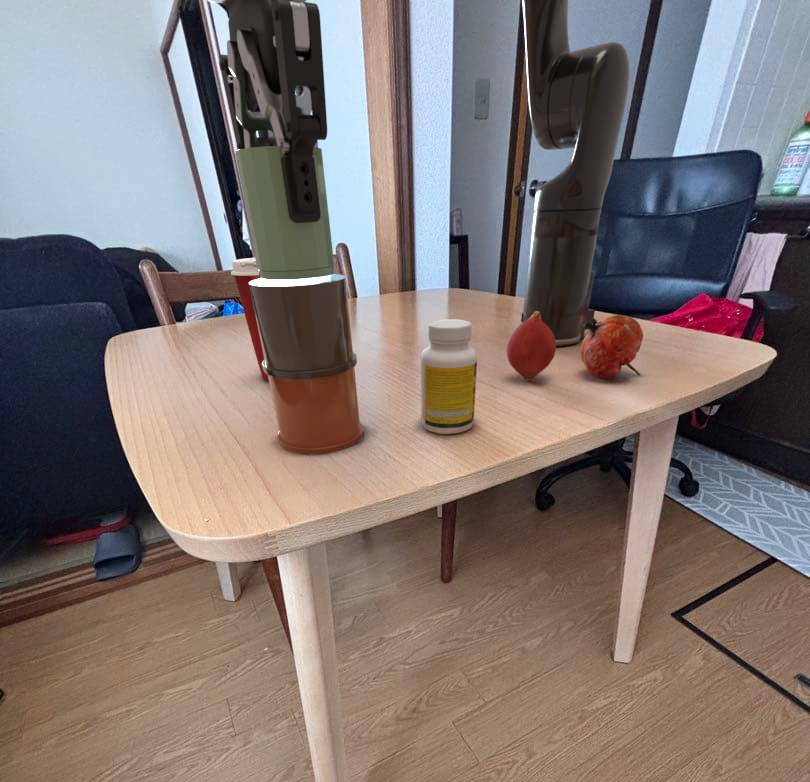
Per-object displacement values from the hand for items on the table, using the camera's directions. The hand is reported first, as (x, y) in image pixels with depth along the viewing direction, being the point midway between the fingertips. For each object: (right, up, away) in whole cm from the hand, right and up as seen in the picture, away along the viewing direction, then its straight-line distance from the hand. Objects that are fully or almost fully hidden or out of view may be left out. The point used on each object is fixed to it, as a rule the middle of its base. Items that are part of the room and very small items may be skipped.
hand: (289, 221), depth 37 cm
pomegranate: (+35, -4, +23) cm, 42 cm away
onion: (+25, -5, +23) cm, 34 cm away
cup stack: (+1, -15, +11) cm, 18 cm away
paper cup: (-8, -2, +28) cm, 30 cm away
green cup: (0, -3, +2) cm, 4 cm away
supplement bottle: (+14, -13, +12) cm, 22 cm away
